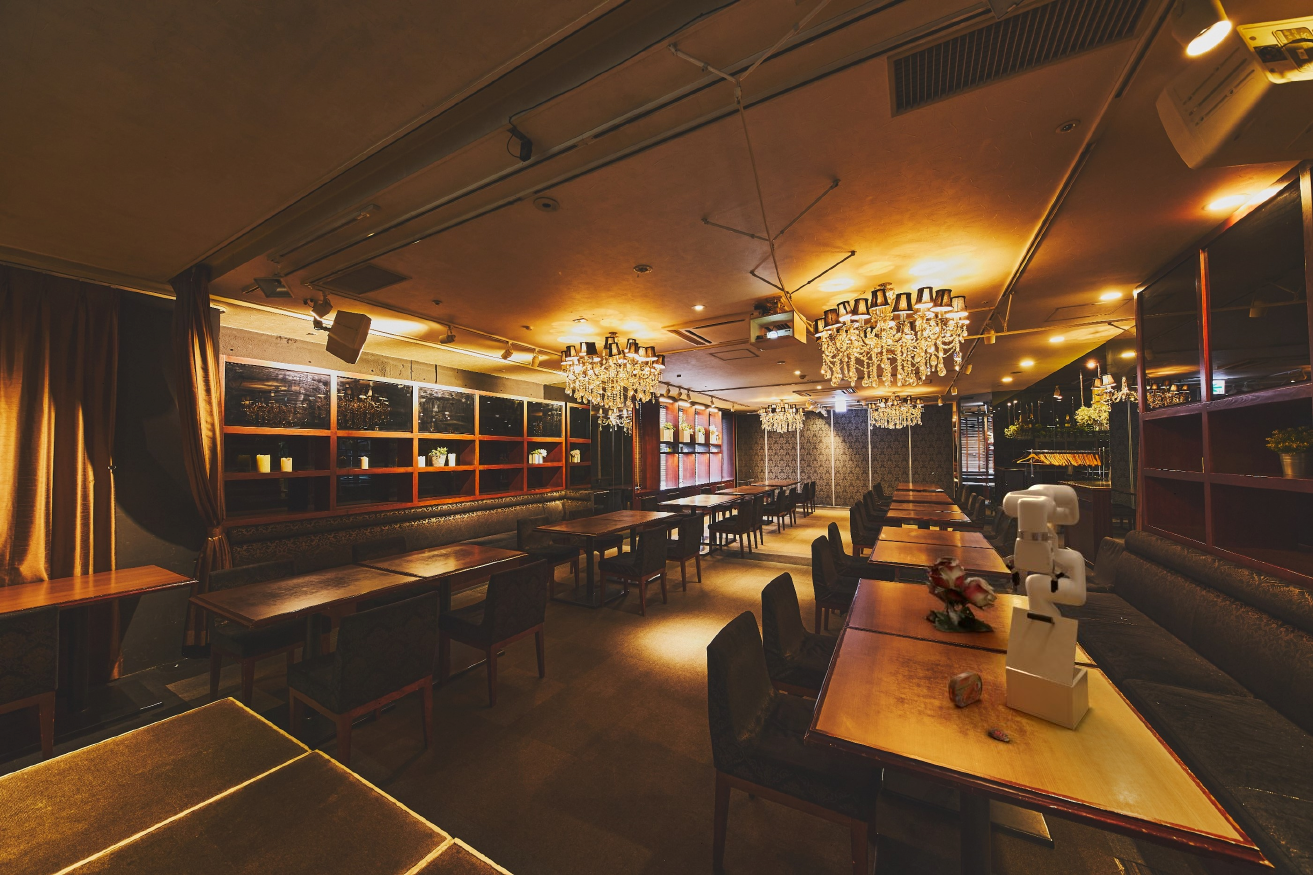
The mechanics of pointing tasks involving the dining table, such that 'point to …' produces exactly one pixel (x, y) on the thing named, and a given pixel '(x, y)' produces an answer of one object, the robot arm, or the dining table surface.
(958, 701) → the tin
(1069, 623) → the bin lid
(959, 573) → the rose bouquet
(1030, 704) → the bin
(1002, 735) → the matchbox
